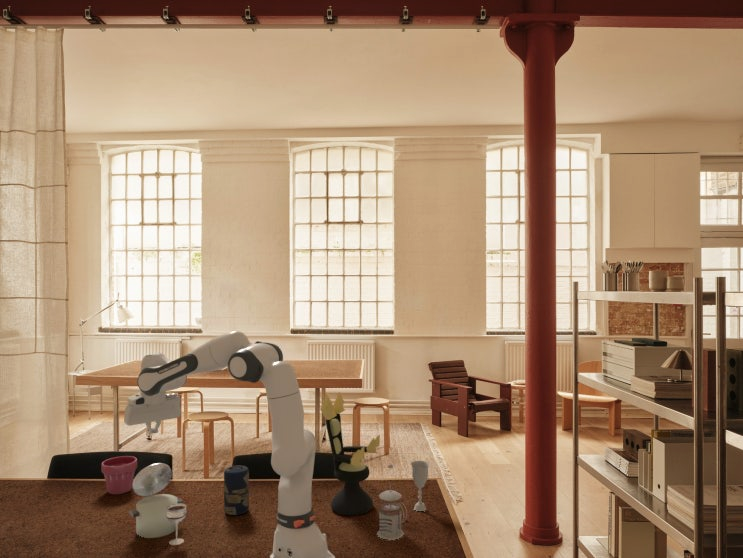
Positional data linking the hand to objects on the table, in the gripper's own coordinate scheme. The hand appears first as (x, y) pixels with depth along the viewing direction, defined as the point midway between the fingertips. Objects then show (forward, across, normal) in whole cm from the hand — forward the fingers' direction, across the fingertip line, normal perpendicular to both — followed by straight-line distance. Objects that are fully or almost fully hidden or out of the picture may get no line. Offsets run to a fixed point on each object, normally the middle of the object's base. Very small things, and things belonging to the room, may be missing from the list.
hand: (153, 433), depth 212 cm
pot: (+33, +2, +8) cm, 34 cm away
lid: (+16, +2, +4) cm, 17 cm away
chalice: (+33, -84, +58) cm, 107 cm away
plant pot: (+33, 0, -40) cm, 52 cm away
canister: (+33, -28, +13) cm, 45 cm away
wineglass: (+33, 0, +22) cm, 40 cm away
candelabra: (+33, -62, +38) cm, 80 cm away
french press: (+33, -60, +67) cm, 96 cm away
